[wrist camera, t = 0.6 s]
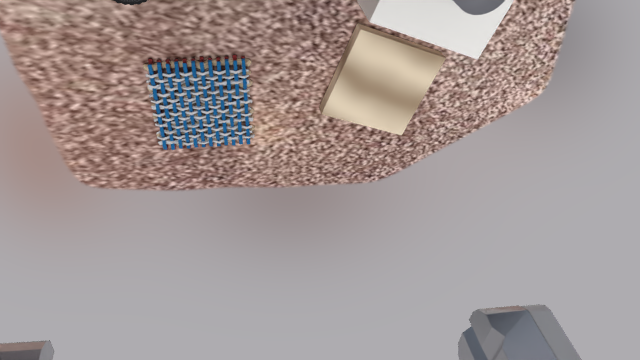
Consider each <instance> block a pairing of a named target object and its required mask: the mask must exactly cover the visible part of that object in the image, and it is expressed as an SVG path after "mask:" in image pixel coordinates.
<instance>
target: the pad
mask: <svg viewBox="0 0 640 360" xmlns="http://www.w3.org/2000/svg"><path fill="white" fill-rule="evenodd" d="M445 59H446V58H445V56H444V55H443V54H442V53H441V52H440V51H437V50H434V49H431V48H428V47H426V46H423V45H420V44H417V43H414V42H411V41H408V40H405V39H402V38H399V37H396V36H393V35H390V34H388V33H385V32H382V31H379V30H376V29H373V28H370V27H367V26H364V25H361V24H358V23H357V25H356V27H355V29H354V32H353V34H352V36H351V38H350V40H349V42H348V45H347V47H346V49H345V51H344V53H343V56H342V58H341V60H340V62H339V64H338V67H337V69H336V71H335V73H334V75H333V78H332V80H331V82H330V84H329V86H328V89H327V91H326V93H325V95H324V97H323V100H322V102H321V104H320V106H319V108H320V111H321V114H322V115H326V116H330V117H334V118H337V119H341V120H345V121H349V122H353V123H356V124H360V125H364V126H368V127H372V128H376V129H379V130H383V131H387V132H391V133H395V134H398V135H402V133H403V132H404V130H405V128H406V126H407V125H408V123H409V121H410V120H411V118H412V116H413V114H414V113H415V111H416V109H417V107H418V106H419V104H420V102H421V101H422V99H423V97H424V95H425V94H426V92H427V90H428V88H429V87H430V85H431V83H432V81H433V80H434V78H435V76H436V75H437V73H438V71H439V69H440V68H441V66H442V64H443V62H444V61H445Z"/></svg>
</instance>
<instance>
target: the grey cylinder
mask: <svg viewBox="0 0 640 360" xmlns="http://www.w3.org/2000/svg"><path fill="white" fill-rule="evenodd" d="M453 1H454V2H455V3H456V4H457V5H458V6H459V7H460V8H461V9H462V10H463V11H464V12H466V13H468V14H471V15H483V14H486V13H489V12H491V11H493V10H495V9H496V8H498V7H499V6H500V5H501V4H502V3H503V2H504V1H505V0H453Z"/></svg>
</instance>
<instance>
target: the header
mask: <svg viewBox="0 0 640 360" xmlns="http://www.w3.org/2000/svg"><path fill="white" fill-rule="evenodd" d="M513 1H514V0H505V1H504V2H503V3H502V4H501V5H500V6H499V7H498V8H496V9H495V10H493V11H491V12H489V13H486V14H483V15H471V14H468V13H466V12H464V11H463V10H462V9H461V8H460V7H459V6H458V5H457V4H456V3H455V2H454V1H453V0H357V2H358V4H359V6H360V7H361V9H362V10H363V12H364V14H365V15H366V17H367V19H368V20H369V22H371V23H374V24H377V25H380V26H383V27H385V28H388V29H391V30H394V31H397V32H400V33H403V34H406V35H409V36H411V37H414V38H417V39H420V40H423V41H426V42H429V43H432V44H435V45H437V46H440V47H443V48H446V49H449V50H452V51H455V52H458V53H461V54H463V55H466V56H469V57H472V58H475V59H478V58H479V56H480V55H481V53H482V51H483V50H484V48H485V47H486V45H487V43H488V42H489V40H490V38H491V37H492V35H493V34H494V32H495V30H496V29H497V27H498V25H499V24H500V22H501V21H502V19H503V17H504V16H505V14H506V12H507V11H508V9H509V8H510V6H511V4H512V3H513Z"/></svg>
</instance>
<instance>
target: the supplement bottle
mask: <svg viewBox="0 0 640 360" xmlns="http://www.w3.org/2000/svg"><path fill="white" fill-rule="evenodd" d="M113 1H116V2H117V3H122V4H124V5H127V4H130V5H134V4H140V3H142V2H146V1H147V0H113Z"/></svg>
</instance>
